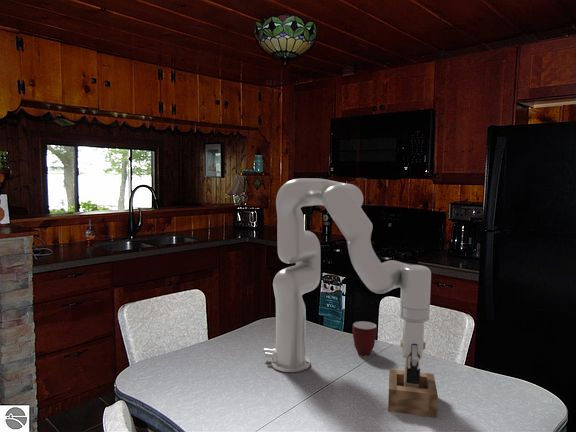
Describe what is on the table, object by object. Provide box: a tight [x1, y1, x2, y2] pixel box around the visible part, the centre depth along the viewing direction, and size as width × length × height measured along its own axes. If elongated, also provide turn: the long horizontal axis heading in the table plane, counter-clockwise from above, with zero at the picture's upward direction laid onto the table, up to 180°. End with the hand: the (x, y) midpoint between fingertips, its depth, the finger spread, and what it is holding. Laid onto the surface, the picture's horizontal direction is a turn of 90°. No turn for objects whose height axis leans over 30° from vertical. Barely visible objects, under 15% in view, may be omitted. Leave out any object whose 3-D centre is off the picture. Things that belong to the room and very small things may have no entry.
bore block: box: [387, 368, 439, 418], centre depth 118 cm, size 12×12×6 cm
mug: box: [352, 320, 378, 356], centre depth 151 cm, size 10×8×10 cm
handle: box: [399, 339, 426, 388], centre depth 118 cm, size 5×6×15 cm
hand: (412, 374), depth 117 cm, fingers open, 9 cm apart
